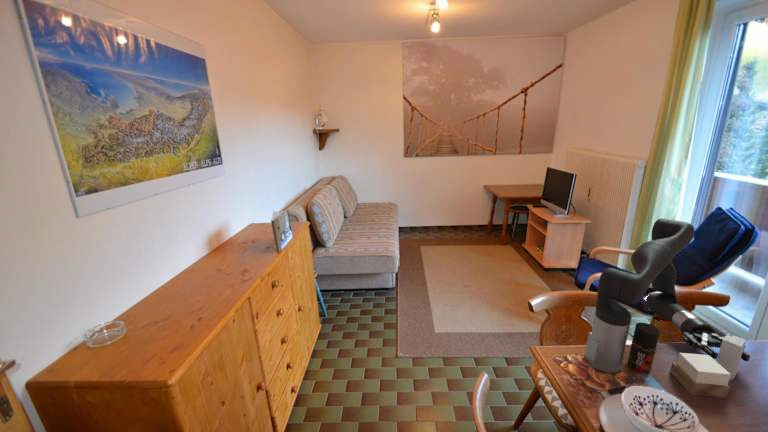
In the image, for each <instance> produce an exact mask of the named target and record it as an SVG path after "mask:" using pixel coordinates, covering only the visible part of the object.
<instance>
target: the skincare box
mask: <svg viewBox="0 0 768 432" xmlns="http://www.w3.org/2000/svg"><path fill="white" fill-rule="evenodd" d="M724 337H725V338H724V339H723V340H722V344H721V347H720V348H719V352H718V357H717V359H716V362H717V363H719V364H720V365H721V366H722V367H723V368H724V369H725V370H727V371H728V372H729V373H730V374H731V376H730V379H729V381H733V380H734V378H735V377H736V375H737V373H738V370H739V366H740V363H741V360H742V359H741V357H742V353H743V350H744V351H745V348H744V346H745V347H746V345H745V344H746V341H747V340H746V339H744V338H742V337H740V336H737V335H733V334H730V333H727V334H726V335H725V336H724Z"/></svg>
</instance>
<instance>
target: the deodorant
mask: <svg viewBox="0 0 768 432" xmlns="http://www.w3.org/2000/svg"><path fill="white" fill-rule="evenodd" d="M660 332H661V331H660V329H659V328H658V327H656V326H654V325H653V324H650V323H646V322H637V323H636V324H635V327H634V330H633V336H632V341H631V345H630V349H629V354H628V358H627V364H626V365H627V367H628V369H629V370H631V371H632V372H634V373H636V374H638V375H642V376H647V375H650V373H651V370H652V365H653V362H654V358H655V353H656V349H657V347H658V346H657V345H658V341H659V338H660V334H661V333H660Z"/></svg>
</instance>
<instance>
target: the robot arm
mask: <svg viewBox="0 0 768 432" xmlns="http://www.w3.org/2000/svg"><path fill="white" fill-rule="evenodd" d="M694 237H695V227H694V225H693V224H691V223H689V222H687V221H683V220H675V219H670V218H669V219H668V218H658V219H657V220H656V221H655V222H654V224H653V225H652V229H651V240H648V241H646V242H644V243H642V244H641V245H639V246H638V248H636V249H635V251H634V252H633V253H632V255H631V257H630V262H631V266H632V268H633V270H634V271H635V274H633V273H630V272H627V271H625V270H624V271H623V270H621V269H616V268H613V267H607V268H605V269H604V270H603V271H602V272H601V274H600V277H599V279H598V284H597V294H596V302H595V312H594V319H593V322H592V329H591V331H589V332H588V336H587V340H586V341H587V342H586V347H585V351H584V352H585V353H584V358H586V360H587V361H588V363H589V364H590V366H591V368H592V369H597V370H600V371H601V372H605V373H609V374H610V373H611V374H615V373H619V372H620V371H621V367H622V364H623V359H624V354H625V349H626V344H627V340H628V335H629V331H630V326H631V322H632V314H631V312H630V311H629V310H628V309H627V308H626V307H625V306H624V305H622V304H625V305H630V306H633V305H636V304H638V302H640V301H641V300H642V298H643V299H644V298H645V297H646V296H648V295H649V296H648V297H647V299H646V300H647V301H646V302H645V301H644V300H643V304H644V306H645V307H646V309H647V310H649V311H650V312H651V313H652V314H653V313H654V314H655V315H658V316H659V317H662V318H664V319H666V320H667V321H669V322H670V323H671V324H673V325H674V327H675V328H676V329H677V330H678V331H679V332H681V333H682V340H683V341H684V343H686V344H687V345H688V346H689V347H691V348H692V349H693V350H700V351H701V352H704V353H705V355H709V356H710V357H712V358H713V359H714V360H717V358H718V355H719V352H717V351H716V350H715V349H713V348H717V349H720V347H721V344H722V340H723V339H724V338H725V336H721V335H720V334H717V333H716V332H715V330H714V328H713V327H712V326H711V325H710V324H708V323H707V322H705V321H704V320H703V319H701V318H700V317H699V316H698V315H696V314H694V313H692V312H691V311H689V310H687V309H686V308H685V307H684V306H682V305H681V304H679V300H678V296H677V291H676V281H677V270H676V267H675V265H674V263H673V262H672V260H673V259H674V258H675V256H676V255H677V254H679V253H680V252H681V251H682V250H683V249H685V248H686V247H688V245H689V244H690V243H691V241H693V238H694ZM650 286H651V288H652V289H653V290H654V291H656V292H653V293H648V294H646V292H647V290H648V289H649V287H650ZM645 294H646V295H645ZM745 348H746V345H745V346H744V350H743V353H742V357H741V360H742V361H744V362H749V361H750V358H751V355H750V354H748V352H746V351H745Z"/></svg>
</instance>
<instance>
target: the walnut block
mask: <svg viewBox="0 0 768 432" xmlns="http://www.w3.org/2000/svg"><path fill="white" fill-rule="evenodd" d="M676 363H677V362H675V361H672V363H671V365H670V371H669V373H670V374H671V375H672V376H673V377H674V378H675V379H676V381H678V382H679V384H680V385H681V386H683V388H684V389H685V390H686V391H687V392H688V393H689V394H690V395H692V396H703V397H712V398H713V397H714V398H722V399H723V398H725V399H726V398H727V397H728V394H729V390H730V389H731V387H730V386H729V384H728V385H727V386H723V385H713V384H702V383H695V382H694V381H693V380H692V379H691V378H690V377H689V376H688V375H687V374H686V373H685V372H684V371H683V370H682V369H681V368H680V367H679V366H678V365H677V364H676Z"/></svg>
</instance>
